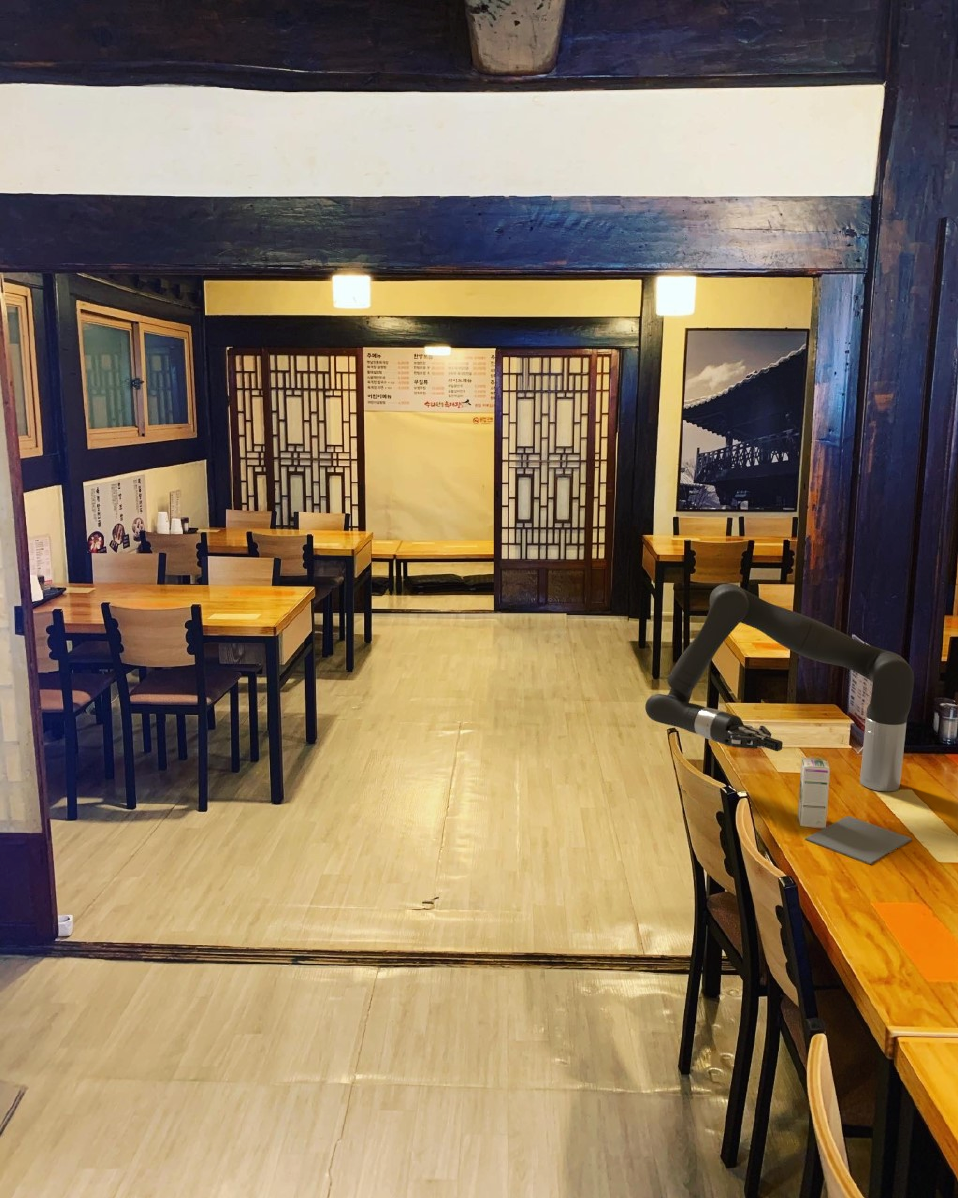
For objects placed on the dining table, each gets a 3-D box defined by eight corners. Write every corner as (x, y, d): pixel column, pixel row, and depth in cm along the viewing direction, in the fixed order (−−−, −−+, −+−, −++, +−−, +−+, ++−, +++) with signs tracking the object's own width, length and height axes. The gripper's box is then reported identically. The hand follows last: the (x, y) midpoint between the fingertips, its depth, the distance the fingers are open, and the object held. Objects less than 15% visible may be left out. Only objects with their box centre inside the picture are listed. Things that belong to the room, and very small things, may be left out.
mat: (848, 817, 228) (848, 815, 228) (911, 840, 217) (911, 838, 217) (805, 839, 216) (805, 838, 216) (870, 864, 205) (870, 863, 205)
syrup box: (826, 829, 222) (831, 768, 219) (798, 826, 223) (803, 765, 220) (823, 818, 227) (828, 758, 224) (796, 816, 228) (801, 756, 225)
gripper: (702, 716, 236) (765, 737, 223) (735, 706, 245) (798, 725, 232) (700, 746, 238) (762, 768, 225) (733, 735, 246) (795, 755, 233)
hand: (780, 746), depth 228 cm, fingers closed
